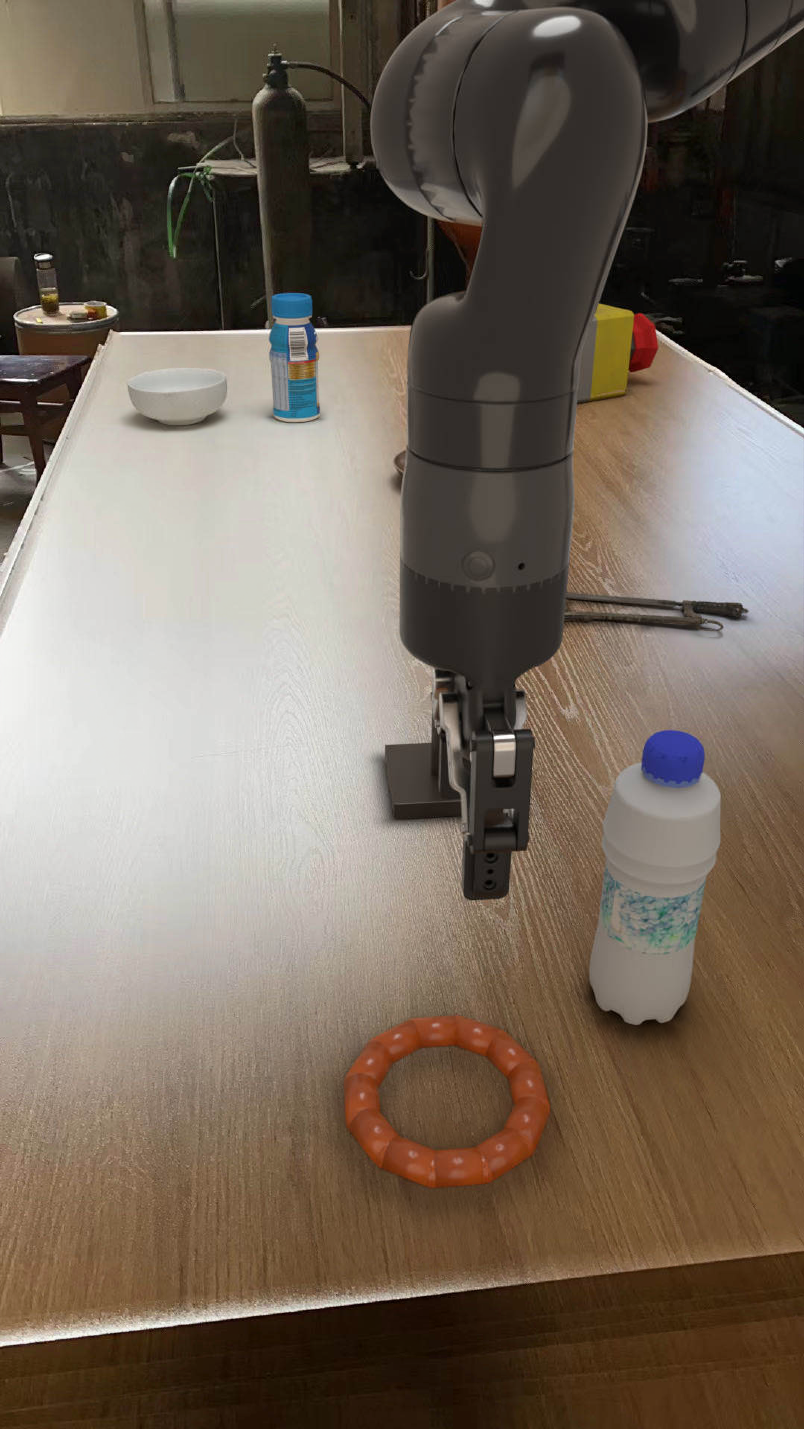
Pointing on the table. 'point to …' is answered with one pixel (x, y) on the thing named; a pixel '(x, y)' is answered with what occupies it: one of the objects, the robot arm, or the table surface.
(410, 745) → the stand
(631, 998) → the bottle
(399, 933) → the table surface
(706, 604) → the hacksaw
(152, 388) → the cereal bowl
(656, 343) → the emergency stop button
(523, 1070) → the ring
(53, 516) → the table surface
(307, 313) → the beverage bottle
